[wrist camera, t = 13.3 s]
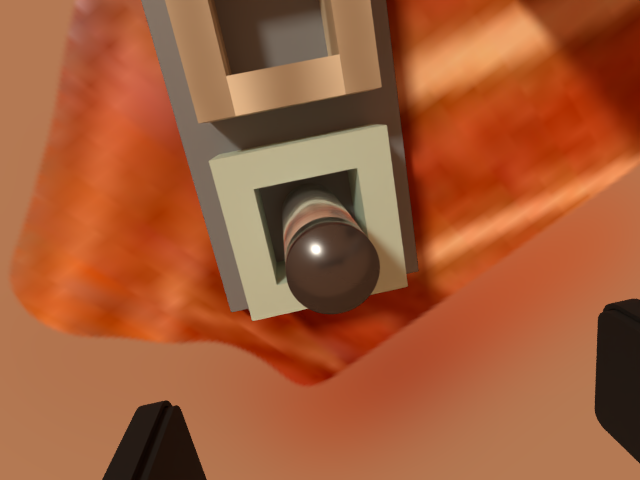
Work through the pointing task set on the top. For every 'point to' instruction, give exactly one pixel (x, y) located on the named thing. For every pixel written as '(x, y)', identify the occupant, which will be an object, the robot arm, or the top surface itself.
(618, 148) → the top surface
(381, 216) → the sage dock
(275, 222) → the base board
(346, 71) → the maple mount
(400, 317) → the top surface
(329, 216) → the steel pin
